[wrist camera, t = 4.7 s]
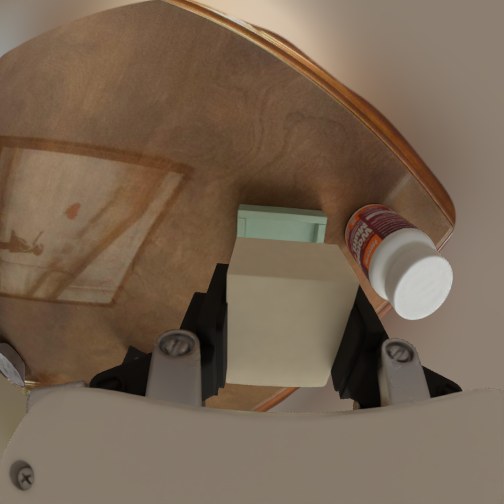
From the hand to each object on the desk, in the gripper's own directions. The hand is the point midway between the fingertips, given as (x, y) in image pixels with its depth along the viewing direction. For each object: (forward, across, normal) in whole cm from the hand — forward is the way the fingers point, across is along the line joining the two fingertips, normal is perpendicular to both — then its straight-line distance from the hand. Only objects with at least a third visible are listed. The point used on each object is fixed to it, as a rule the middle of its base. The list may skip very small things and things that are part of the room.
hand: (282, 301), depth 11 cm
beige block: (0, 0, 0) cm, 0 cm away
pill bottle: (+16, -10, +2) cm, 19 cm away
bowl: (+16, +58, +37) cm, 70 cm away
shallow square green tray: (+16, -1, +4) cm, 16 cm away
